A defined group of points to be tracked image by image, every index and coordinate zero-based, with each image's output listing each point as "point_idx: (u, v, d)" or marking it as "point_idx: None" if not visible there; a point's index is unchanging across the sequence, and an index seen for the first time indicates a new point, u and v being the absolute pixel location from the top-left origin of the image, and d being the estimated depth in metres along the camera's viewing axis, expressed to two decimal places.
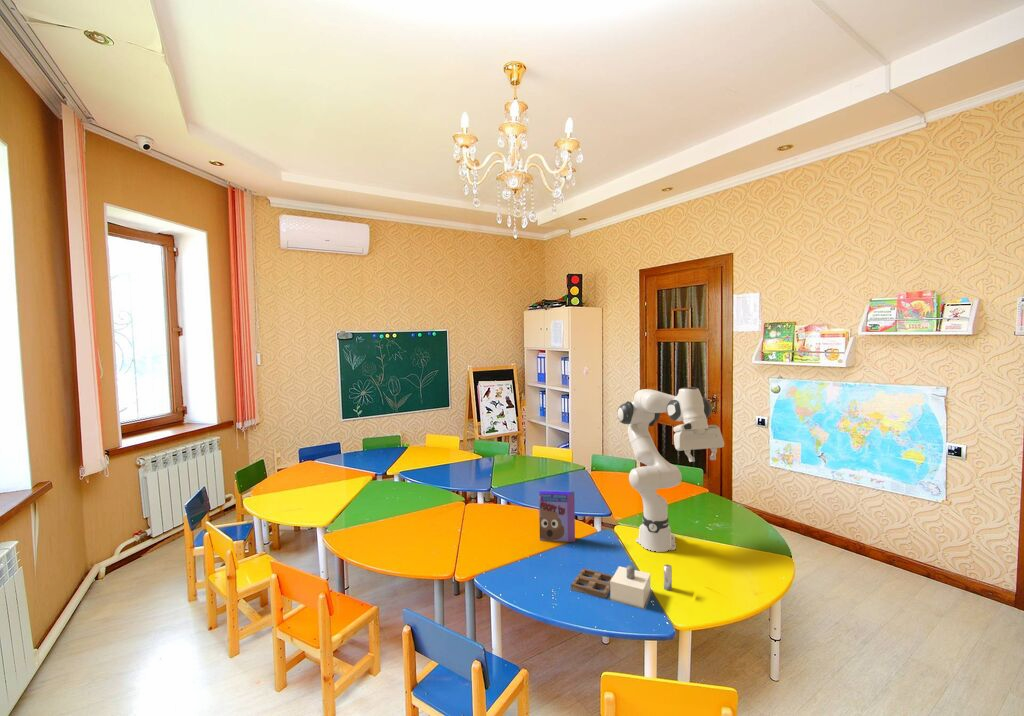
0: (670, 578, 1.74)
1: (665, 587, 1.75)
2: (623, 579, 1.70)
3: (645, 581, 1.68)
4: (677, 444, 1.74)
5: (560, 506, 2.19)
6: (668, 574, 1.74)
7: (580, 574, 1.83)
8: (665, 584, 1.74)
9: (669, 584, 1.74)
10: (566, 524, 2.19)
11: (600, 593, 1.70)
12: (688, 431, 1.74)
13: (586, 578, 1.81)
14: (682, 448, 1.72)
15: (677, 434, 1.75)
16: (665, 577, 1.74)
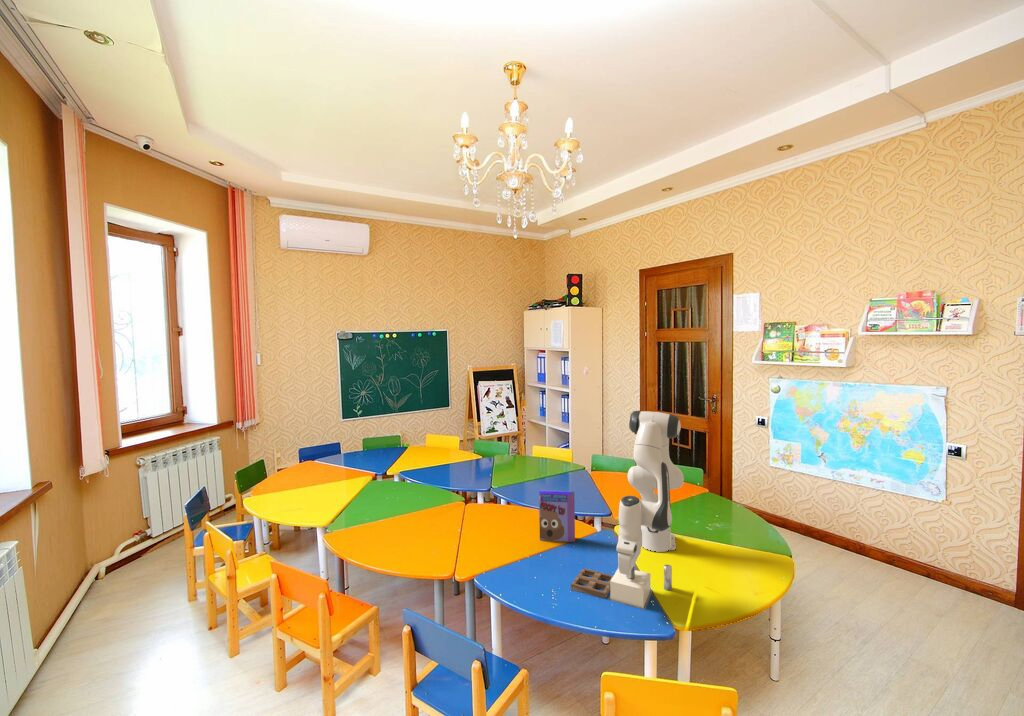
0: (670, 578, 1.74)
1: (665, 587, 1.75)
2: (623, 579, 1.70)
3: (645, 581, 1.68)
4: (625, 569, 1.62)
5: (560, 506, 2.19)
6: (668, 574, 1.74)
7: (580, 574, 1.83)
8: (665, 584, 1.74)
9: (669, 584, 1.74)
10: (566, 524, 2.19)
11: (600, 593, 1.70)
12: (633, 553, 1.65)
13: (586, 578, 1.81)
14: (629, 573, 1.62)
15: (625, 558, 1.63)
16: (665, 577, 1.74)
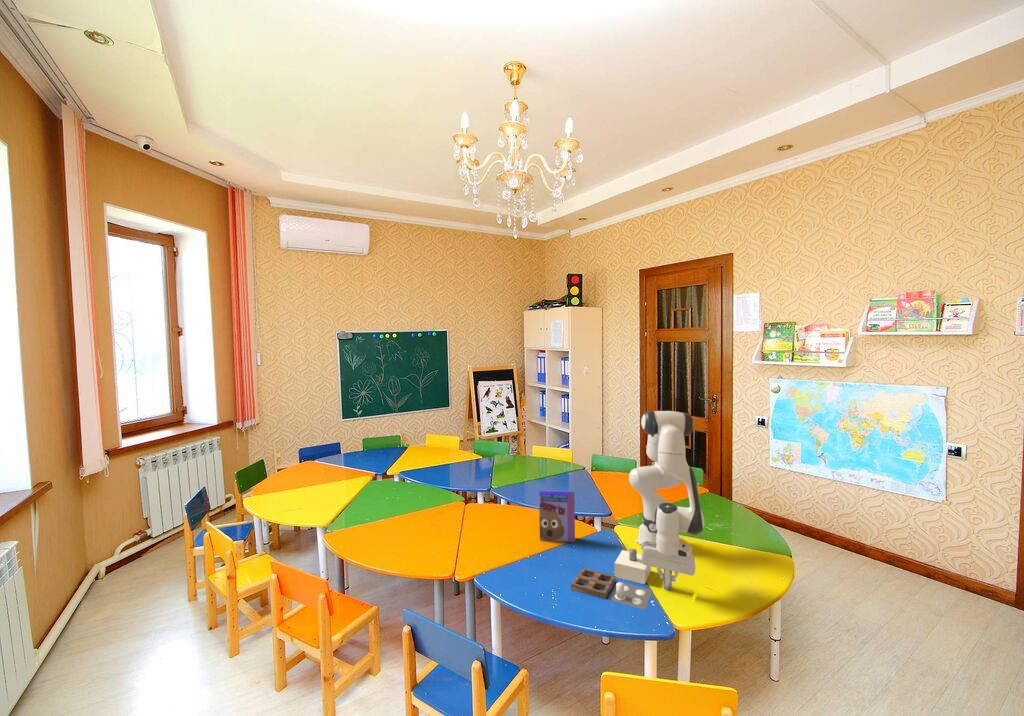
0: (670, 578, 1.74)
1: (665, 587, 1.75)
2: (626, 561, 1.86)
3: None
4: (695, 567, 1.71)
5: (560, 506, 2.19)
6: (668, 574, 1.74)
7: (580, 574, 1.83)
8: (665, 584, 1.75)
9: (669, 584, 1.74)
10: (566, 524, 2.19)
11: (600, 593, 1.70)
12: None
13: (586, 578, 1.81)
14: None
15: (693, 557, 1.71)
16: (665, 577, 1.74)
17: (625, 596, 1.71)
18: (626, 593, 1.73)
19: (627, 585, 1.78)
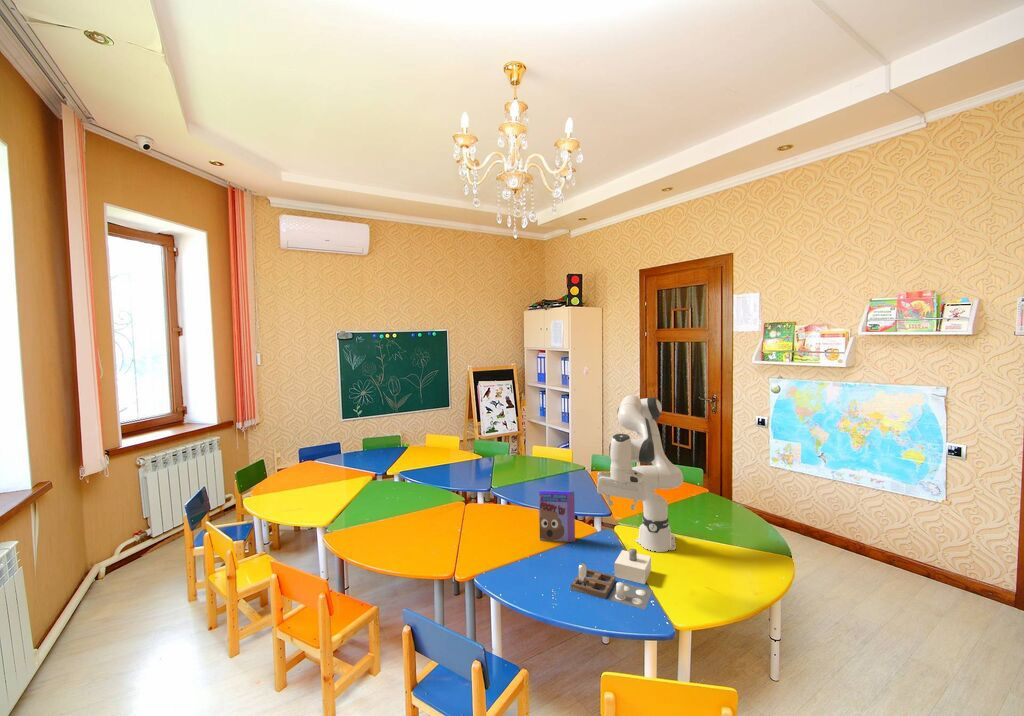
0: (584, 577, 1.76)
1: None
2: (626, 561, 1.86)
3: (646, 563, 1.84)
4: (646, 493, 1.77)
5: (560, 506, 2.19)
6: (582, 573, 1.76)
7: None
8: (579, 582, 1.77)
9: (582, 582, 1.76)
10: (566, 524, 2.19)
11: (600, 593, 1.70)
12: None
13: (586, 578, 1.81)
14: None
15: (644, 484, 1.77)
16: (579, 575, 1.77)
17: (625, 596, 1.71)
18: (626, 593, 1.73)
19: (627, 585, 1.78)
